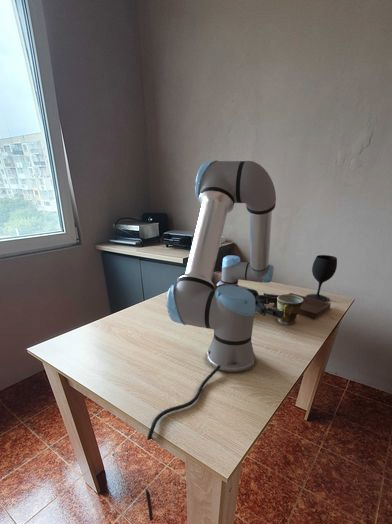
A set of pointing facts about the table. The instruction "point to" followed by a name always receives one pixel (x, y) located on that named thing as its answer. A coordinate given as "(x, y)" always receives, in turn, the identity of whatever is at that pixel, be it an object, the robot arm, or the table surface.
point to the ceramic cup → (289, 307)
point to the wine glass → (323, 273)
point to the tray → (311, 307)
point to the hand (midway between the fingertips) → (291, 310)
